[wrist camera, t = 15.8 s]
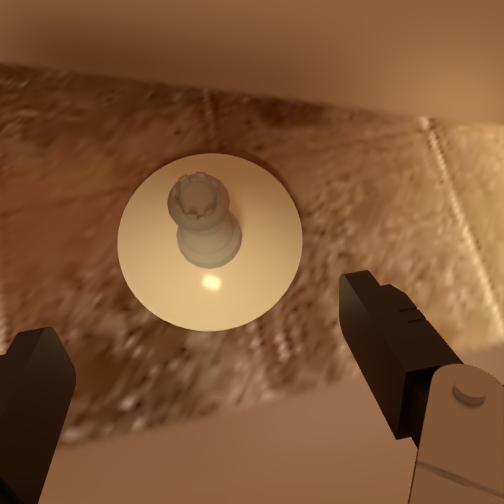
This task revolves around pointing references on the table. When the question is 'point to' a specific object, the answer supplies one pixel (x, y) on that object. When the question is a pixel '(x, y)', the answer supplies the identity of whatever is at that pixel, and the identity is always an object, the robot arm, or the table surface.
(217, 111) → the table surface
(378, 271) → the table surface
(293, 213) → the cream plate
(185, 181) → the rook chess piece
